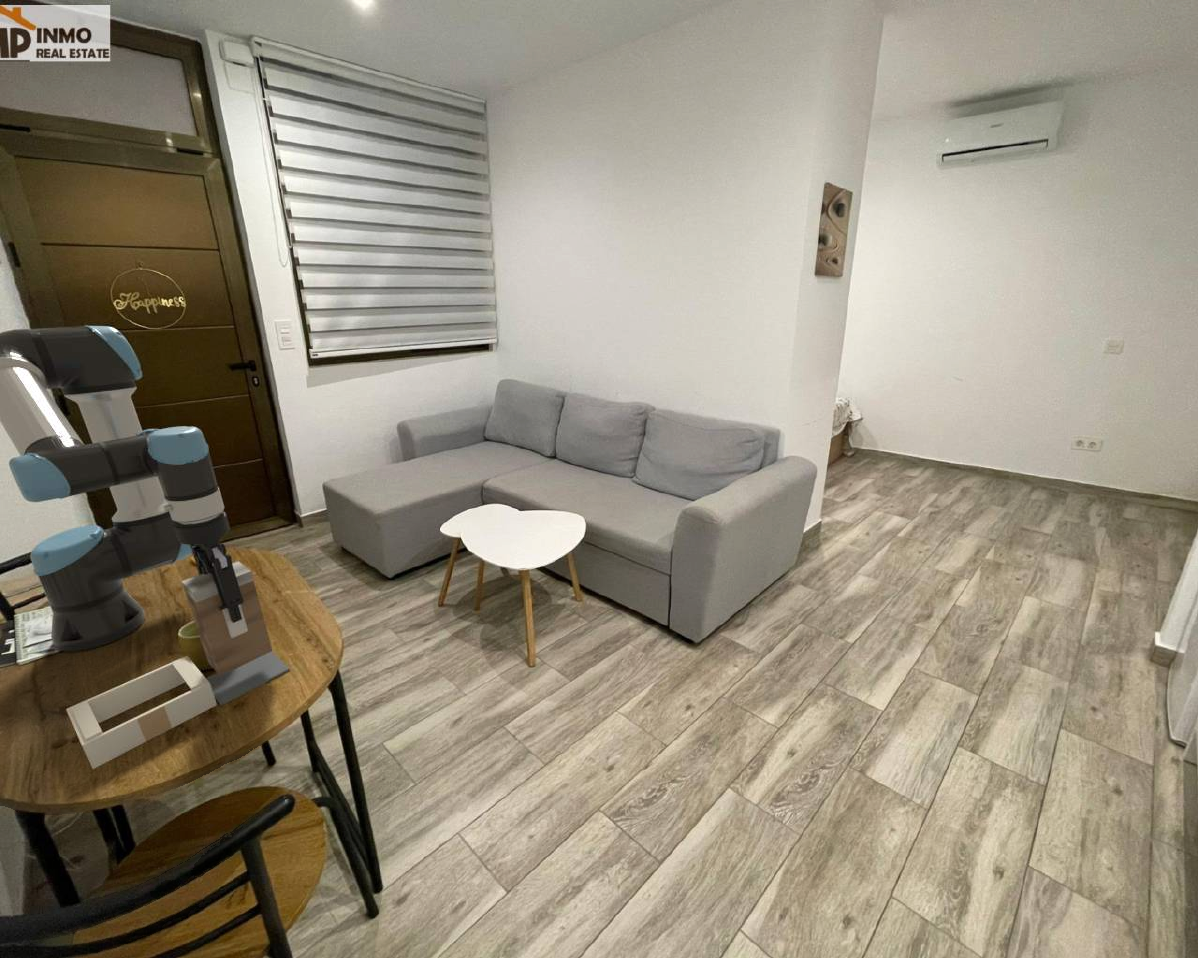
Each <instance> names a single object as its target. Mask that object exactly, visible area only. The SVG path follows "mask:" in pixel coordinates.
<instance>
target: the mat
mask: <svg viewBox="0 0 1198 958" xmlns="http://www.w3.org/2000/svg"><path fill="white" fill-rule="evenodd" d="M290 671H291V670H290V667H289V666H287V664H286V663H285V662H283V661H282V660H281V659H280V658H279V657H278V656H277V655H276V654H275V653H274V652H273V651H271V652H269V653H267V654H265V655H263V656H261V657H259V658H257V659H255V660H253V661H251V662H249V663H247V664H245V665H242V666H240V667H238V668H236V669H234V670H232V671H230V672H228V673H226V674H224V675H222V676H219V674H218V673H217V672H216V673H213V674H212V675H210V676H208V677H205V678H206V679H207V680H208V682H209V683H210V685H211V688H212V691H213V694H214V697H215V700H216V702H217V703H218V704H219V705H220V706H223V705H225V704H228V703H229V702H231V701H234V700H235V699H237V698H240V697H241V696H244V695H245V694H247V693H249V692H251V691H252V690H254V689H256V688H258V687H260V686H262V685H265V684H266V683H268V682H271V680H273V679H276V678H277V677H279V676H281V675H283V674H285V673H286V672H287V673H288V672H290Z"/></svg>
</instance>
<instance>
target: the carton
mask: <svg viewBox="0 0 1198 958" xmlns="http://www.w3.org/2000/svg"><path fill="white" fill-rule="evenodd" d="M206 678H207V677H205V676H204V674H203V673H202V672H201V671H199V669H198V668H197V667H196V666H195V665H194V663H193V662H192V661H191V660H190V659H189V657H188V656H185V657H184V656H183V657H180V658H177V659H176V660H173V661H172V662H170V663H168V664H165V665H163V666H161V667H159V668H156V669H154V670H152V671H150V672H147V673H144V674H143V675H140V676H139V677H136V678H134V679H131V680H128V681H127V682H124V683H123V684H120V685H118V686H116V687H113V688H111V689H109V690H106V691H104V692H102V693H100V694H98V695H95V696H93V697H91V698H88V699H86V700H84V701H81V702H79V703H77V704H74V705H72V706H70V707H68V708H66V709H65V710H66V712H67V714H68V717H69V719H70V721H71V723H72V726H73V728H74V730H75V732H76V735H77V738H78V740H79V743H80V744H81V747H82V748H83V751H84V753H85V755H86V757H87V760H88V762H89V764H90V766H91V769H92V770H94V769H96V768H98V767H100V766H102V765H104V764H106V763H107V762H109V761H111V760H114V759H115V758H117V757H119V756H121V755H123V754H125V753H127V752H129V751H131V750H133V749H134V748H137V747H139V746H140V745H142V744H145V743H146V742H148V741H151V740H152V739H155V738H156V737H158V736H160V735H162V734H163V733H166V732H167V731H169V730H171V729H174V728H176V727H177V726H179V725H181V724H182V723H185V722H187V721H189V720H190V719H193V718H194V717H197V716H198V715H200V714H202V713H205V712H206V711H208V710H211V708H214V707H216V706H218V704H217V703H218V702H217V700H216V699H215V697H214V694H213V691H212V688H211V685H210V683H209V682H208V680H207V679H206ZM183 684H186V685H187V686H188V687H189V689H190V690H189V691H187V692H184V693H183V694H180V695H178V696H177V697H174V698H172V699H170V700H168V701H166V702H164V703H162V704H159V705H157V706H156V707H154V708H151V709H150V710H147V711H146V712H143V713H141V714H139V715H138V716H135V717H133V718H131V719H129V720H127V721H124V722H122V723H120V724H119V725H117V726H115V727H112V728H110V729H108V730H106V731H105V732H103V731H102V728H101V726H100V725H99V724H100V723H102V722H105V721H106V720H108V719H111V718H113V717H116V716H117V715H119V714H121V713H123V712H125V711H128V710H130V709H132V708H134V707H136V706H138V705H140V704H142V703H144V702H148V701H149V700H151V699H153V698H155V697H157V696H160V695H162V694H164V693H167V692H168V691H171V690H173V689H175V688H176V687H178V686H179V687H180V686H181V685H183Z"/></svg>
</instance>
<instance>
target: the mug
mask: <svg viewBox="0 0 1198 958" xmlns="http://www.w3.org/2000/svg"><path fill="white" fill-rule="evenodd" d="M177 638H178V643H179V646H180V649H181V652H182V655H183V657H185V656H188V657H189V659H190V660H191V661H192V662H193V663H194V665H195V666H196V667H197V668H198V669H199V671H200V672H201V671H207V670H212V669H213V668H212V666H211V665H210V664H209V663H208V660H207V657H206V654H205V651H204V648H203V645H202V642H201V638H200V635H199V632H198V629H197V626H196V623H195V620H193V621H191V622H188V623H187V624H185V625H183V626H181V628H180V629H179V630H178V633H177Z"/></svg>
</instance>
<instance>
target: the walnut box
mask: <svg viewBox="0 0 1198 958" xmlns="http://www.w3.org/2000/svg"><path fill="white" fill-rule="evenodd" d="M232 564H233V569H234V572H235V575H236V578H237V582H238V585H239V588H240V591H241V595H242V598H243V600H244V603H242V604H241V608H242V611H243V615H244V618H245V622H246V625H247V629H248V631H247V632H245V633H243V634H240V635H238V636H236V637H234V638H231V637H230V634H229V631H228V628H227V624H226V621H225V618H224V614H223V611H222V610H221V611H220V610H219V608H218V607H220V606H222V605H223V604H222V602H221V599H220V596H219V594H218V591H217V587H216V584H215V583H214V581H213V578H212V576H211V574H210V573H208V574H201V575H199V574H198V575H195V576H192V577H190V578H186V579H184V580H181V584H182V587H183V591H184V592H185V595H186V598H187V601H188V604H189V608H190V610H191V613H192V617H193V619H194V620H193V621H195V623H196V626H197V629H198V632H199V635H200V638H201V642H202V645H203V648H204V651H205V654H206V657H207V660H208V663H209V664H210V665H211V666H212V669H213V670H214V671H215V672H216V673H218V674H219V676H222V675H224V674H226V673H228V672H230V671H232V670H234V669H236V668H238V667H240V666H242V665H245V664H247V663H249V662H251V661H253V660H255V659H257V658H259V657H261V656H263V655H265V654H267V653H269V652H273V649H272V648H273V647H272V644H271V641H270V637H269V633H268V629H267V626H266V622H265V618H264V613H263V612H262V607H261V604H260V599H259V596H258V593H257V589H256V586H255V581H254V577H253V574H252V570H250V569H249V568H248V567H247V566H245V565H244V564H243V563H241V562H240V561H239V560H238V561H235V562H232Z"/></svg>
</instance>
